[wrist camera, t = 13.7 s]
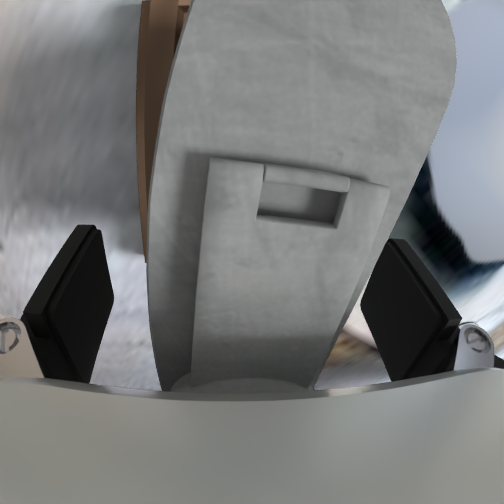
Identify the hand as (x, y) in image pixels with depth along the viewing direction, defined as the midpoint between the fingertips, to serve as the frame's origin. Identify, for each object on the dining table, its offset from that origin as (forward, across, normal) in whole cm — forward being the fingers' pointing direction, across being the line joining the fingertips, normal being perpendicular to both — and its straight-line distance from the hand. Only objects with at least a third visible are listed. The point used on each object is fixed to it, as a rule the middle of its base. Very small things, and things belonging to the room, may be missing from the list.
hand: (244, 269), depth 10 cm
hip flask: (+13, 0, 0) cm, 13 cm away
